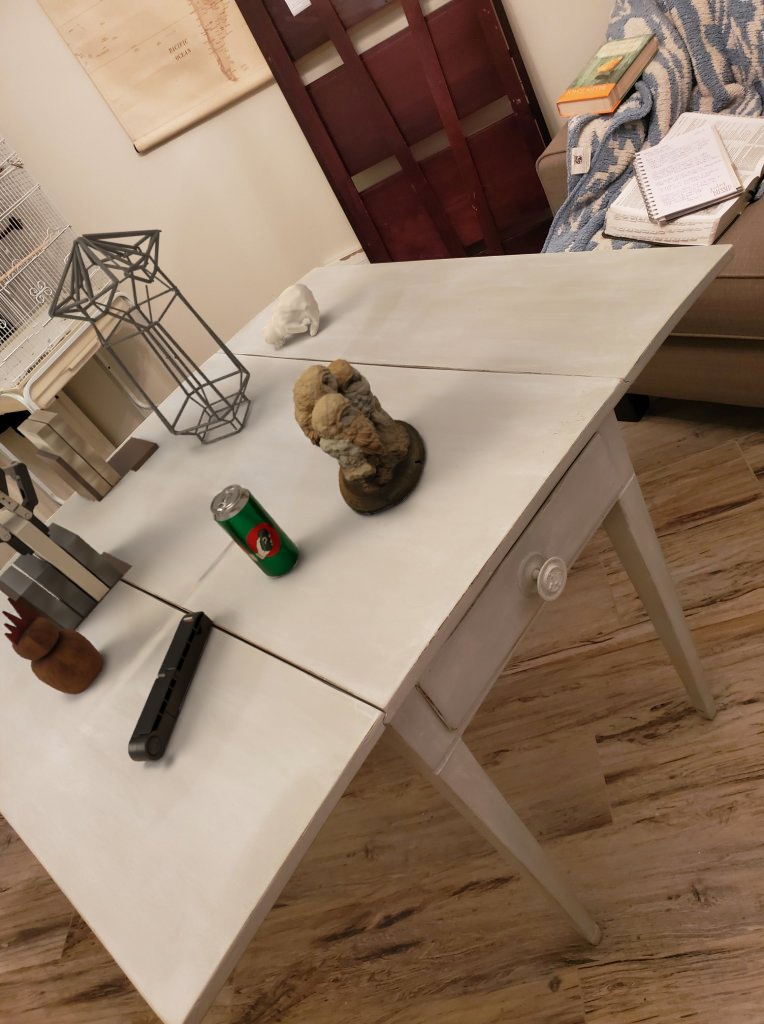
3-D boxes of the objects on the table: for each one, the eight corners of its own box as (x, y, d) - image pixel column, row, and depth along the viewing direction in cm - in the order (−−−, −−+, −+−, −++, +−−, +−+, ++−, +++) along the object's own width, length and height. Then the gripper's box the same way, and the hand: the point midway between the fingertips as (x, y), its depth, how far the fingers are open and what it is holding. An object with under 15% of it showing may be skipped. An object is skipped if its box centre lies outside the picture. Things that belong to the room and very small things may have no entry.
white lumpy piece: (300, 288, 120) (244, 325, 124) (330, 327, 125) (275, 361, 129) (301, 272, 125) (247, 309, 129) (329, 310, 130) (277, 344, 134)
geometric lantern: (177, 466, 118) (12, 288, 97) (205, 405, 129) (62, 233, 107) (254, 440, 112) (96, 243, 90) (277, 379, 122) (140, 189, 101)
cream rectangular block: (98, 601, 100) (15, 534, 91) (73, 585, 106) (-7, 520, 97) (109, 589, 101) (28, 521, 92) (83, 574, 107) (5, 508, 98)
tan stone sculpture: (436, 496, 83) (366, 384, 72) (346, 537, 85) (267, 434, 75) (416, 410, 96) (355, 306, 86) (339, 447, 99) (271, 350, 89)
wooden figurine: (103, 648, 94) (14, 580, 85) (119, 666, 90) (27, 597, 80) (63, 689, 92) (-32, 625, 83) (78, 710, 88) (-21, 644, 78)
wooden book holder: (103, 505, 121) (32, 438, 112) (81, 496, 128) (11, 432, 118) (159, 446, 126) (95, 377, 117) (134, 440, 133) (72, 374, 123)
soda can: (307, 544, 88) (251, 478, 81) (293, 578, 85) (233, 513, 78) (274, 548, 91) (218, 484, 83) (260, 581, 88) (200, 518, 80)
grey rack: (71, 643, 98) (15, 602, 92) (45, 623, 105) (-9, 583, 99) (137, 569, 103) (87, 525, 97) (108, 555, 109) (60, 512, 103)
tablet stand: (159, 765, 75) (140, 753, 73) (141, 766, 76) (122, 753, 74) (215, 621, 87) (200, 607, 85) (199, 623, 88) (184, 609, 86)
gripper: (-34, 413, 92) (65, 502, 102) (-123, 493, 87) (-9, 577, 97) (-16, 418, 87) (86, 511, 97) (-109, 503, 82) (9, 592, 92)
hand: (38, 544), depth 97 cm, fingers closed on cream rectangular block, 2 cm apart
